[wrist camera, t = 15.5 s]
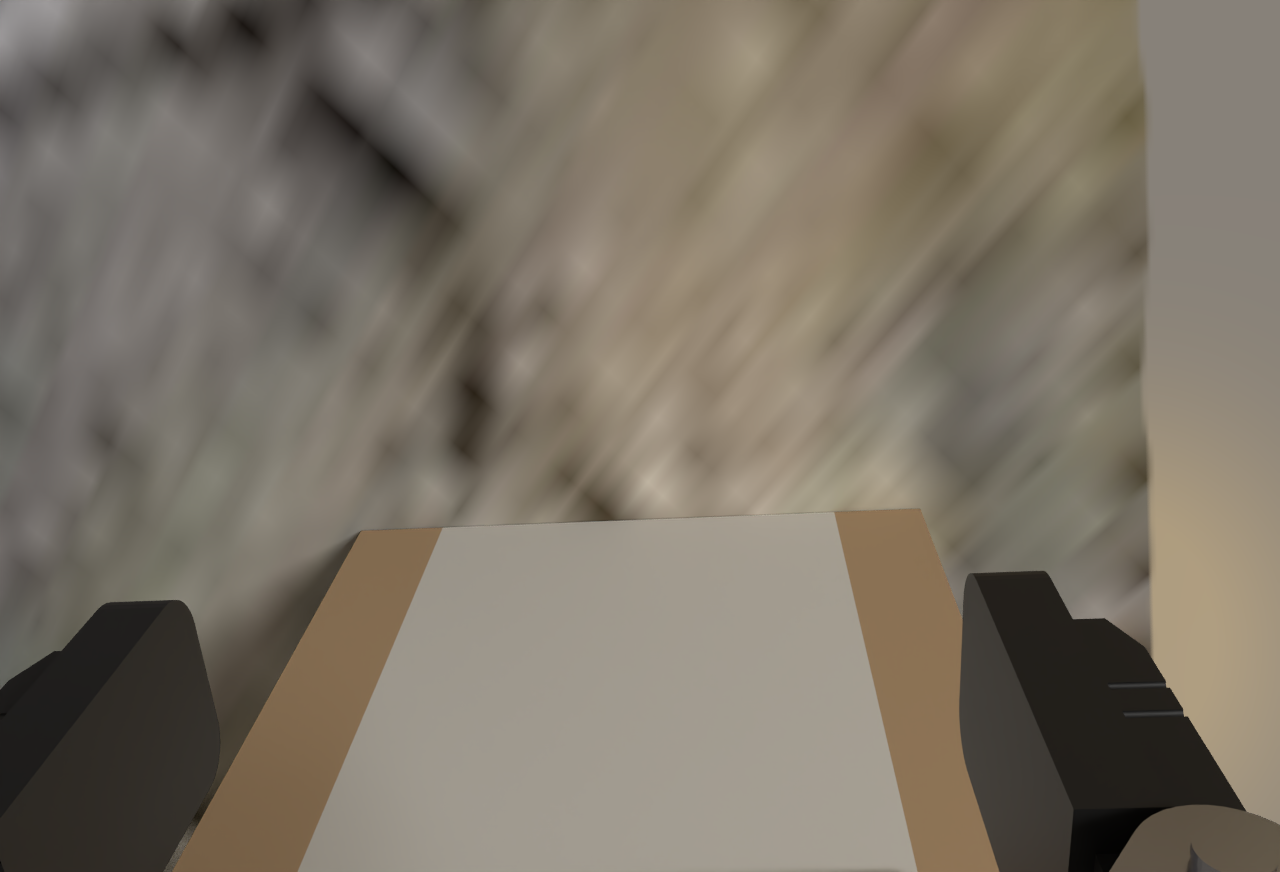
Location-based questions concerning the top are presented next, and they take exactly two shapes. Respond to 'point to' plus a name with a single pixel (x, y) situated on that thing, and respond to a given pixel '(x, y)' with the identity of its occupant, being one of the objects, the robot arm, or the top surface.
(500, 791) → the headboard panel
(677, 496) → the top surface
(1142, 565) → the top surface
